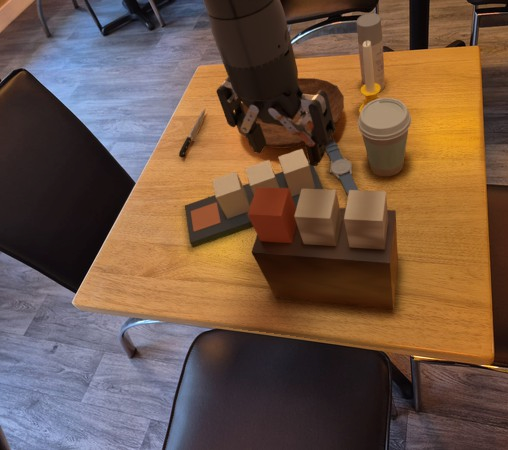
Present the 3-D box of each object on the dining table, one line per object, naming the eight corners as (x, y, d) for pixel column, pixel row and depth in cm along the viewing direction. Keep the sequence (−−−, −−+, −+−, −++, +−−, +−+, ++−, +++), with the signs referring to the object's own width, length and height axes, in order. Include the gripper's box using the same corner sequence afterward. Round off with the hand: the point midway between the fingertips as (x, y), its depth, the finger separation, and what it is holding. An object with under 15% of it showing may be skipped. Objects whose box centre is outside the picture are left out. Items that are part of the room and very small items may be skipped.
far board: (327, 200, 77) (320, 172, 71) (193, 247, 77) (175, 222, 71) (313, 167, 83) (305, 137, 77) (187, 210, 83) (170, 184, 77)
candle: (379, 121, 86) (374, 51, 74) (355, 116, 89) (346, 47, 76) (389, 104, 89) (386, 33, 76) (365, 100, 91) (359, 30, 79)
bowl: (255, 98, 99) (249, 80, 95) (352, 94, 93) (349, 74, 89) (231, 162, 88) (223, 144, 84) (340, 162, 82) (336, 142, 78)
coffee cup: (417, 174, 77) (419, 121, 67) (370, 187, 77) (364, 137, 68) (402, 142, 82) (401, 89, 72) (357, 155, 82) (351, 103, 73)
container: (383, 94, 91) (379, 26, 79) (360, 94, 92) (353, 27, 81) (386, 79, 94) (383, 12, 82) (364, 80, 95) (358, 13, 83)
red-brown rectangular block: (298, 216, 60) (289, 187, 55) (291, 243, 57) (281, 215, 52) (268, 215, 61) (256, 186, 56) (260, 241, 58) (247, 214, 54)
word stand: (397, 261, 67) (394, 179, 52) (393, 309, 63) (388, 234, 48) (286, 253, 72) (254, 176, 57) (275, 297, 68) (237, 225, 53)
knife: (206, 113, 99) (203, 106, 98) (209, 113, 99) (206, 106, 97) (182, 160, 91) (178, 153, 90) (185, 160, 91) (181, 154, 89)
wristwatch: (335, 133, 87) (334, 129, 86) (371, 206, 74) (371, 202, 74) (315, 140, 87) (314, 136, 86) (348, 214, 74) (347, 211, 74)
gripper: (181, 57, 47) (229, 164, 59) (298, 72, 41) (324, 187, 53) (218, 19, 50) (256, 127, 63) (331, 27, 44) (348, 145, 57)
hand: (288, 154), depth 58 cm, fingers open, 8 cm apart
